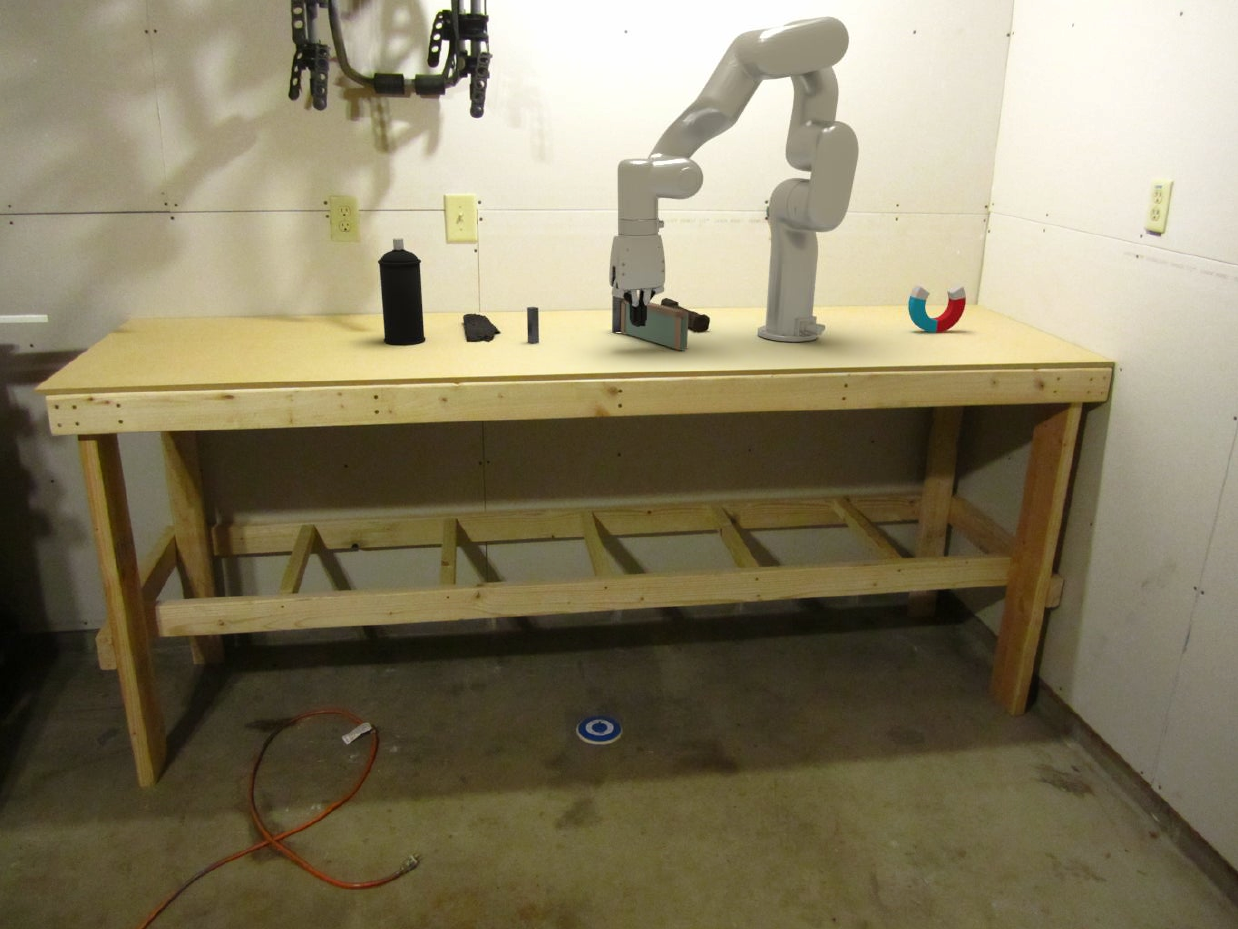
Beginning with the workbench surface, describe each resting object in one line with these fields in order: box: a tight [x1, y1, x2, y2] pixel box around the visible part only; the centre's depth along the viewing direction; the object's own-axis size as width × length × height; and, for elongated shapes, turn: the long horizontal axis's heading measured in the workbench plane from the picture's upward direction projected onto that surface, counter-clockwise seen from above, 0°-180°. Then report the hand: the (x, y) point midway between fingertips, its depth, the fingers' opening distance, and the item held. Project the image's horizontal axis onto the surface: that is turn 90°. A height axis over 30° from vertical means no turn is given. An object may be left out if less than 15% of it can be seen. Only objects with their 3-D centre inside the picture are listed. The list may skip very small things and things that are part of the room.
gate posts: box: [526, 290, 622, 344], centre depth 192 cm, size 3×23×9 cm, turn 124°
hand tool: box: [660, 297, 711, 333], centre depth 207 cm, size 19×4×5 cm, turn 22°
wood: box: [462, 312, 502, 343], centre depth 198 cm, size 22×7×3 cm, turn 11°
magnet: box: [907, 284, 967, 334], centre depth 201 cm, size 12×3×10 cm, turn 97°
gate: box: [621, 298, 689, 351], centre depth 188 cm, size 2×19×7 cm, turn 36°
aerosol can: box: [377, 237, 426, 346], centre depth 184 cm, size 8×8×20 cm
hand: (638, 325), depth 182 cm, fingers closed
